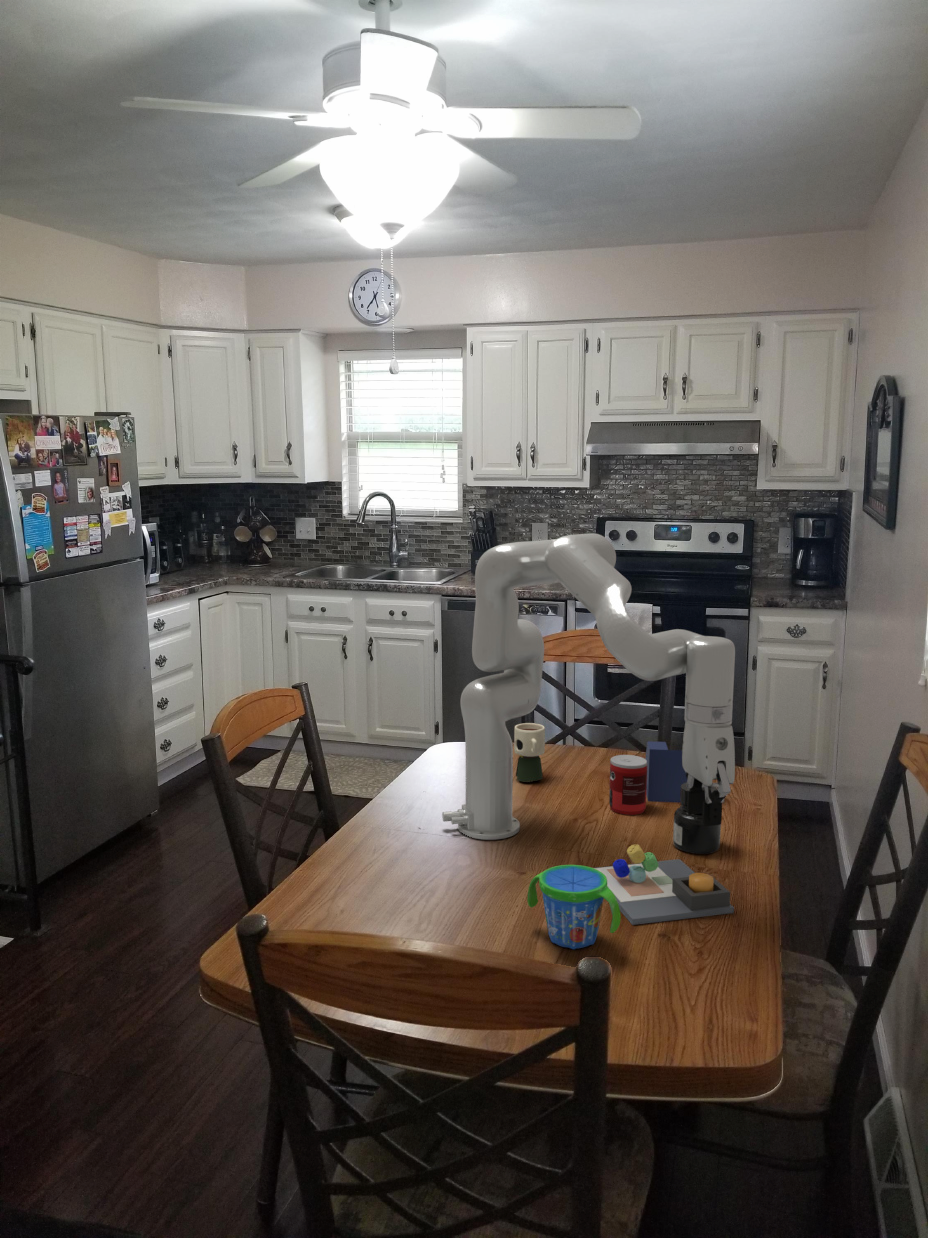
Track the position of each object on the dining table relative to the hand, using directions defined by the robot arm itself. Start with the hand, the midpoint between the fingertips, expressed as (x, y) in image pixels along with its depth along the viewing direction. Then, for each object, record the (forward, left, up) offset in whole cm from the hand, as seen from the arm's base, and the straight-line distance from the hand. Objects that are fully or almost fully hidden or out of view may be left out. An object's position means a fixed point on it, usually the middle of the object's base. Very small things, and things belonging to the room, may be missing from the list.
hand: (703, 818), depth 158 cm
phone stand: (+20, +52, -16) cm, 58 cm away
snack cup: (-25, -6, -16) cm, 30 cm away
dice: (-8, +9, -14) cm, 19 cm away
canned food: (+6, +45, -16) cm, 48 cm away
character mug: (-9, +68, -16) cm, 70 cm away
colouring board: (-5, +6, -15) cm, 17 cm away
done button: (0, 0, -13) cm, 13 cm away
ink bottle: (+11, +23, -16) cm, 30 cm away
